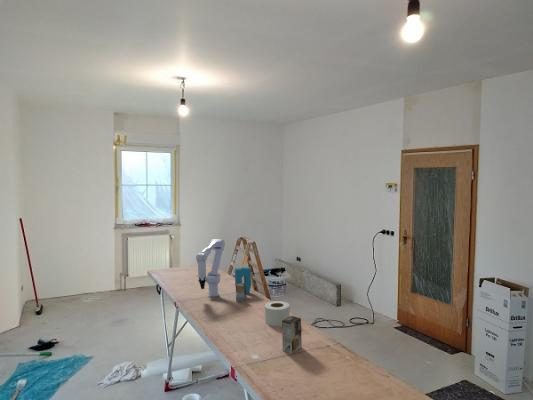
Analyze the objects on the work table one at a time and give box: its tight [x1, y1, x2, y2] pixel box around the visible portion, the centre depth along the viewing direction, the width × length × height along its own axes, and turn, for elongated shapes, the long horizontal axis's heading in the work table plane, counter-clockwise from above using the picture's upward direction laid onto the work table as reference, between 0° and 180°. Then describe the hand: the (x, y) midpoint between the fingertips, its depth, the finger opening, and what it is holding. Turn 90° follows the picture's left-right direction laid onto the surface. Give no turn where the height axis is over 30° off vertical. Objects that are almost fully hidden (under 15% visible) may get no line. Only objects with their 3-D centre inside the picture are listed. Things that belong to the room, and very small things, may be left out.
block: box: [234, 266, 252, 295], centre depth 304 cm, size 12×5×20 cm, turn 114°
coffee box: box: [281, 315, 303, 354], centre depth 203 cm, size 9×6×16 cm
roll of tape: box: [264, 300, 291, 327], centre depth 243 cm, size 16×15×11 cm
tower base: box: [235, 297, 246, 303], centre depth 287 cm, size 6×6×4 cm
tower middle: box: [235, 291, 246, 299], centre depth 286 cm, size 6×6×4 cm
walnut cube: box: [235, 284, 245, 293], centre depth 286 cm, size 5×5×5 cm
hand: (202, 287), depth 286 cm, fingers open, 7 cm apart
